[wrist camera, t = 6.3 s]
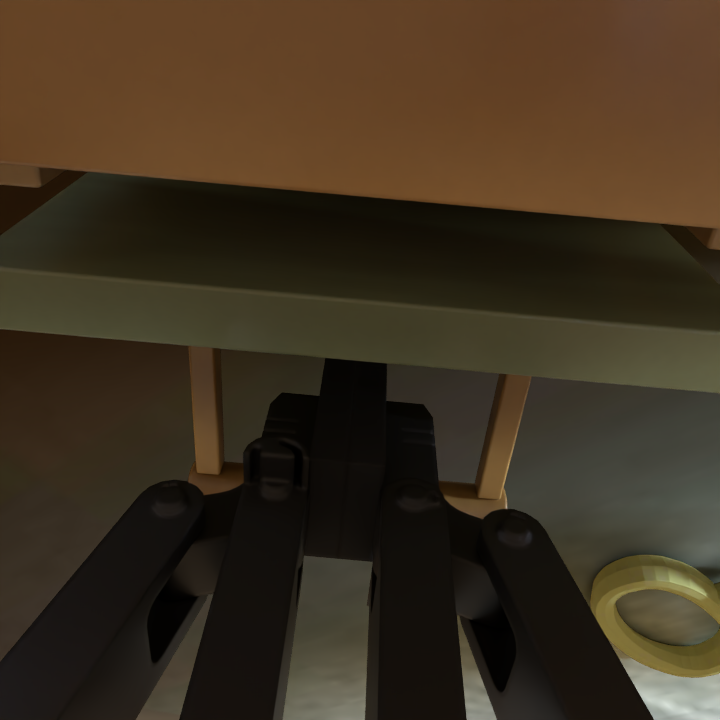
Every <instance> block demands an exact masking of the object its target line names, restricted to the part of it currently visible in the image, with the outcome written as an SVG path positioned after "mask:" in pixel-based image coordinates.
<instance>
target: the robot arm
mask: <svg viewBox="0 0 720 720" xmlns="http://www.w3.org/2000/svg"><path fill="white" fill-rule="evenodd" d="M386 383H387V363H376V362H365V361H354V360H342V359H331V358H326V359H325V365H324V371H323V377H322V384H321V390H320V396H313V395H303V394H292V393H281V394H280V395H279V396H278V397H277V398H276V399H275V400H274V401H273V402H272V403H271V404H270V407H269V411H268V415H267V420H266V422H265V426H264V431H263V433H262V437H261V438H258V439H256V440H254V441H253V442H251V443H250V444H248V446H247V447H246V449H245V451H244V452H243V470H244V483H242V484H241V485H239V486H238V487H236V488H233V489H231V490H229V491H224V492H220V493H214V494H208V495H203V492H202V491H201V490H200V489H199V488H198V487H197V486H196V485H194V484H192V483H189V482H187V481H180V480H170V481H163V482H159V483H157V484H155V485H152V486H150V487H148V488H147V489H146V490H145V491H144V492H142V493H141V494H140V495H139V496H138V498H137V499H136V500H135V501H134V502H133V504H132V505H131V506H130V507H129V508H128V510H127V511H126V512H125V513H124V514H123V516H122V517H121V518H120V519H119V520H118V522H117V523H116V524H115V525H114V526H113V528H112V529H111V530H110V531H109V532H108V534H107V535H106V536H105V537H104V538H103V540H102V541H101V542H100V543H99V544H98V546H97V547H96V548H95V549H94V550H93V552H92V553H91V554H90V555H89V556H88V558H87V559H86V560H85V561H84V562H83V563H82V565H81V566H80V567H79V568H78V569H77V571H76V572H75V573H74V574H73V575H72V577H71V578H70V579H69V580H68V581H67V583H66V584H65V585H64V586H63V587H62V589H61V590H60V591H59V592H58V593H57V595H56V596H55V597H54V598H53V599H52V601H51V602H50V603H49V604H48V605H47V607H46V608H45V609H44V610H43V611H42V613H41V614H40V615H39V616H38V617H37V619H36V620H35V621H34V622H33V623H32V625H31V626H30V627H29V628H28V629H27V631H26V632H25V633H24V634H23V635H22V636H21V638H20V639H19V640H18V641H17V642H16V644H15V645H14V646H13V647H12V648H11V650H10V651H9V652H8V653H7V654H6V656H5V657H4V658H3V659H2V660H1V662H0V720H136V718H137V716H138V714H139V713H140V711H141V709H142V708H143V706H144V704H145V703H146V701H147V699H148V698H149V696H150V694H151V692H152V691H153V689H154V687H155V686H156V684H157V682H158V681H159V679H160V677H161V676H162V674H163V672H164V670H165V669H166V667H167V665H168V664H169V662H170V660H171V659H172V657H173V655H174V654H175V652H176V650H177V648H178V647H179V645H180V643H181V642H182V640H183V638H184V637H185V635H186V633H187V632H188V630H189V628H190V626H191V625H192V623H193V621H194V620H195V618H196V616H197V615H198V613H199V611H200V610H201V608H202V606H203V604H204V603H205V601H206V599H207V596H208V594H212V593H214V594H213V598H212V601H211V605H210V609H209V612H208V616H207V620H206V623H205V627H204V631H203V634H202V638H201V642H200V646H199V649H198V653H197V657H196V660H195V664H194V668H193V671H192V675H191V679H190V682H189V686H188V690H187V693H186V697H185V701H184V704H183V708H182V712H181V715H180V719H179V720H282V719H283V712H284V705H285V698H286V690H287V683H288V676H289V669H290V661H291V654H292V647H293V640H294V632H295V625H296V618H297V611H298V603H299V596H300V589H301V582H302V572H303V558H304V556H315V557H326V558H337V559H348V560H359V561H370V562H372V561H373V566H372V573H371V580H370V587H369V594H368V602H367V606H369V629H368V656H367V683H366V710H365V720H466V709H465V699H464V688H463V677H462V667H461V656H460V646H459V635H458V625H457V615H460V621H461V624H462V627H463V629H464V632H465V635H466V637H467V640H468V643H469V646H470V648H471V651H472V654H473V656H474V659H475V662H476V664H477V667H478V670H479V672H480V675H481V678H482V680H483V683H484V686H485V688H486V691H487V694H488V696H489V699H490V702H491V704H492V707H493V710H494V712H495V715H496V718H497V720H654V719H653V717H652V716H651V714H650V712H649V710H648V709H647V707H646V705H645V703H644V702H643V700H642V698H641V696H640V695H639V693H638V691H637V689H636V688H635V686H634V684H633V682H632V681H631V679H630V677H629V675H628V674H627V672H626V670H625V668H624V667H623V665H622V663H621V661H620V660H619V658H618V656H617V655H616V653H615V651H614V649H613V648H612V646H611V644H610V642H609V641H608V639H607V637H606V635H605V634H604V632H603V630H602V628H601V627H600V625H599V623H598V621H597V620H596V618H595V616H594V614H593V613H592V611H591V609H590V607H589V606H588V604H587V602H586V600H585V599H584V597H583V595H582V593H581V592H580V590H579V588H578V586H577V585H576V583H575V581H574V579H573V578H572V576H571V574H570V572H569V571H568V569H567V567H566V565H565V564H564V562H563V560H562V558H561V557H560V555H559V553H558V552H557V550H556V548H555V546H554V545H553V543H552V541H551V539H550V538H549V536H548V534H547V532H546V531H545V529H544V528H543V527H542V526H541V524H540V523H539V522H538V521H537V520H536V519H534V518H533V517H531V516H529V515H528V514H526V513H523V512H520V511H517V510H514V509H499V510H495V511H491V512H490V513H489V514H488V515H486V516H485V517H484V519H481V518H478V517H475V516H472V515H469V514H467V513H464V512H462V511H460V510H458V509H456V508H455V507H453V506H452V505H451V504H450V503H449V502H448V501H447V500H446V499H445V498H444V495H443V493H442V492H441V491H440V488H439V482H438V471H437V459H436V448H435V437H434V426H433V417H432V416H431V414H430V413H429V412H428V410H427V409H426V407H425V406H424V405H423V404H413V403H403V402H392V401H386Z"/></svg>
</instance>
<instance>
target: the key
mask: <svg viewBox="0 0 720 720" xmlns="http://www.w3.org/2000/svg"><path fill="white" fill-rule="evenodd" d="M644 589H657V590H665V591H668V592H671V593H674V594H677V595H680V596H682V597H684V598H686V599H688V600H690V601H692V602H694V603H695V604H697V605H698V606H699V607H701V608H702V609H704V610H705V611H706V612H707V613H708V614H709V615H711V616H712V617H713V618H714V619H715V620H716V621H717V623H718V624H719V625H720V583H717V584H714V583H713V582H712V581H711V580H710V579H709V578H707V577H706V576H705V575H703V574H702V573H701V572H699V571H698V570H696V569H695V568H693V567H691V566H689V565H687V564H685V563H683V562H681V561H677V560H674V559H671V558H667V557H664V556H658V555H635V556H629V557H625V558H622V559H619V560H617V561H614V562H612V563H610V564H609V565H607V566H605V567H604V568H603V569H602V570H601V571H600V572H599V573H598V574H597V576H596V578H595V580H594V581H593V587H592V593H591V599H590V603H591V611H592V613H593V614H594V616H595V618H596V620H597V621H598V623H599V625H600V627H601V628H602V630H603V632H604V634H605V635H606V637H607V638H608V639H609V640H610V641H611V642H612V643H613V644H614V645H615V646H616V647H617V648H619V649H620V650H621V651H622V652H624V653H625V654H627V655H628V656H630V657H631V658H633V659H634V660H636V661H638V662H639V663H641V664H643V665H646V666H648V667H650V668H653V669H655V670H658V671H661V672H664V673H667V674H671V675H675V676H681V677H691V678H693V677H706V676H711V675H715V674H719V673H720V628H719V630H718V632H717V633H716V634H715V635H714V636H713V637H712V638H710V639H708V640H706V641H704V642H702V643H700V644H696V645H692V646H671V645H666V644H662V643H658V642H655V641H652V640H649V639H647V638H645V637H643V636H641V635H640V634H638V633H636V632H635V631H634V630H632V629H631V628H630V627H629V626H628V625H627V624H626V623H625V622H624V621H623V620H622V618H621V617H620V615H619V614H618V611H617V608H616V604H615V602H616V601H617V599H619V598H620V597H621V596H623V595H625V594H627V593H630V592H634V591H639V590H644Z"/></svg>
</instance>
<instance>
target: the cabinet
mask: <svg viewBox="0 0 720 720" xmlns="http://www.w3.org/2000/svg"><path fill="white" fill-rule="evenodd" d="M0 164H8V165H19V166H30V167H41V168H52V169H63V170H74V171H85V172H96V173H107V174H118V175H129V176H140V177H152V178H163V179H174V180H185V181H196V182H207V183H218V184H229V185H240V186H251V187H262V188H273V189H284V190H295V191H306V192H317V193H328V194H339V195H350V196H361V197H372V198H383V199H394V200H405V201H416V202H427V203H438V204H449V205H460V206H471V207H482V208H493V209H504V210H515V211H526V212H537V213H548V214H559V215H570V216H581V217H593V218H604V219H615V220H626V221H637V222H648V223H659V224H670V225H681V226H692V227H703V228H714V229H720V0H0Z"/></svg>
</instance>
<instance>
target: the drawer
mask: <svg viewBox="0 0 720 720" xmlns="http://www.w3.org/2000/svg"><path fill="white" fill-rule="evenodd" d="M65 171H66V170H63V169H52V168H41V167H30V166H19V165H8V164H0V185H11V186H22V187H33V188H40V187H42V186H44V185H45V184H47V183H48V182H50V181H51V180H53V179H54V178H56V177H57V176H59V175H60V174H62V173H63V172H65ZM684 227H685V228H686V229H688V230H689V231H690V232H691V233H692V234H693V235H694V236H695V237H696V238H697V239H698V240H699V241H700V242H701V243H703V244H704V245H705V246H706V247H707V248H709V249H716V250H720V229H714V228H703V227H692V226H684ZM0 329H6V330H17V331H28V332H39V333H50V334H62V335H73V336H84V337H95V338H107V339H118V340H129V341H140V342H152V343H163V344H174V345H185V346H188V348H189V363H190V379H191V394H192V409H193V425H194V440H195V455H196V461H195V462H194V463H193V465H192V467H191V470H190V473H189V477H188V482H189V483H192V484H194V485H196V486H197V487H198V488H199V489H200V490H201V491H202V492H203V495H208V494H214V493H220V492H224V491H229V490H231V489H233V488H236V487H238V486H239V485H241V484H242V483H244V470H243V463H234V462H224V434H223V406H222V378H221V350H220V349H230V350H241V351H253V352H264V353H275V354H286V355H297V356H309V357H320V358H331V359H342V360H354V361H365V362H376V363H387V364H399V365H410V366H421V367H432V368H443V369H455V370H466V371H477V372H488V373H500V374H499V378H498V383H497V387H496V391H495V396H494V400H493V405H492V409H491V414H490V418H489V422H488V427H487V431H486V436H485V440H484V445H483V449H482V454H481V458H480V462H479V467H478V471H477V476H476V480H475V484H473V483H462V482H450V481H439V480H438V482H439V488H440V491H441V492H442V493H443V495H444V498H445V499H446V500H447V501H448V502H449V503H450V504H451V505H452V506H453V507H455V508H456V509H458V510H460V511H462V512H464V513H467V514H469V515H472V516H475V517H478V518H481V519H484V517H485V516H486V515H488V514H489V513H490V512H491V511H495V510H499V509H507V497H506V493H505V490H504V488H503V487H504V483H505V479H506V475H507V471H508V468H509V464H510V460H511V456H512V452H513V448H514V444H515V440H516V436H517V432H518V429H519V425H520V421H521V417H522V413H523V409H524V405H525V401H526V397H527V393H528V390H529V386H530V382H531V378H532V376H533V377H544V378H556V379H567V380H578V381H589V382H601V383H612V384H623V385H634V386H646V387H657V388H668V389H679V390H690V391H702V392H713V393H720V285H719V284H718V283H717V282H716V281H715V280H714V279H713V277H712V276H711V275H710V274H709V273H708V272H707V271H706V270H705V269H704V268H703V267H702V266H701V265H700V264H699V263H698V262H697V261H696V260H695V259H694V258H693V257H692V256H691V255H690V254H689V253H688V252H687V251H686V250H685V249H684V248H683V247H682V246H681V245H680V244H679V243H678V242H677V241H676V240H675V239H674V238H673V237H672V236H671V235H670V234H669V233H668V232H667V231H666V230H665V229H664V228H663V227H662V226H661V225H660V224H659V223H648V222H637V221H626V220H615V219H604V218H593V217H581V216H570V215H559V214H548V213H537V212H526V211H515V210H504V209H493V208H482V207H471V206H460V205H449V204H438V203H427V202H416V201H405V200H394V199H383V198H372V197H361V196H350V195H339V194H328V193H317V192H306V191H295V190H284V189H273V188H262V187H251V186H240V185H229V184H218V183H207V182H196V181H185V180H174V179H163V178H152V177H140V176H129V175H118V174H107V173H96V172H87V173H86V174H85V175H83V176H82V177H81V178H79V179H78V180H76V181H75V182H74V183H72V184H71V185H69V186H68V187H67V188H65V189H64V190H63V191H61V192H60V193H58V194H57V195H56V196H54V197H53V198H51V199H50V200H49V201H47V202H46V203H45V204H43V205H42V206H40V207H39V208H38V209H36V210H35V211H33V212H32V213H31V214H29V215H28V216H27V217H25V218H24V219H22V220H21V221H20V222H18V223H17V224H15V225H14V226H13V227H11V228H10V229H9V230H7V231H6V232H4V233H3V234H2V235H0Z"/></svg>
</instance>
